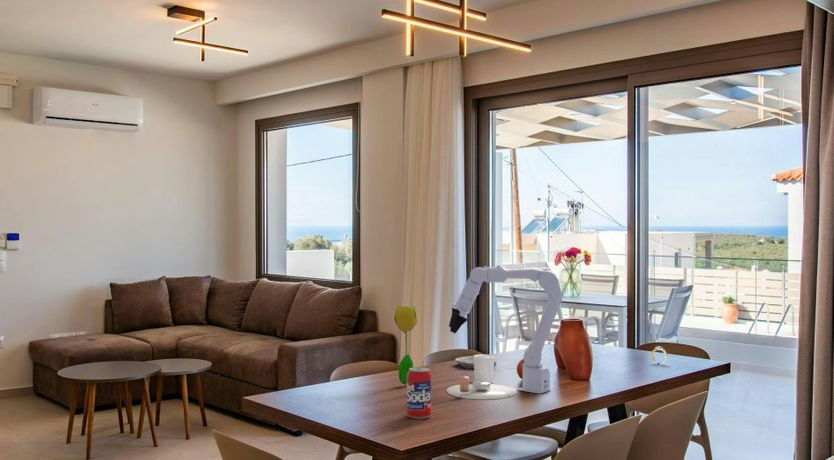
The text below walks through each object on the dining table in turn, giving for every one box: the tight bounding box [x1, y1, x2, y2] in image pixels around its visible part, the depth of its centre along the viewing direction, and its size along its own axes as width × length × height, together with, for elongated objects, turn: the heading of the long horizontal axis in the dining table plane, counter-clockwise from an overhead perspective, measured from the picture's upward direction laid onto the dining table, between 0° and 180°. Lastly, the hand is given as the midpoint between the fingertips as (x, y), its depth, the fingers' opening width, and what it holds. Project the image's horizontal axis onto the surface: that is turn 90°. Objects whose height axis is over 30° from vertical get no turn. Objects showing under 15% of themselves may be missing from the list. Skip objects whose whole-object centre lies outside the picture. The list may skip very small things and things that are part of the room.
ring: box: [650, 345, 669, 364], centre depth 333 cm, size 7×3×8 cm, turn 43°
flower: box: [393, 305, 418, 387], centre depth 284 cm, size 9×8×30 cm
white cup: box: [473, 353, 495, 384], centre depth 292 cm, size 8×8×10 cm
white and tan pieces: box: [459, 375, 491, 393], centre depth 271 cm, size 15×6×6 cm, turn 138°
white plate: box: [446, 383, 517, 401], centre depth 274 cm, size 25×25×1 cm
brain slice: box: [454, 355, 497, 370], centre depth 326 cm, size 20×17×3 cm
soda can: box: [406, 366, 433, 420], centre depth 237 cm, size 8×8×15 cm
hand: (451, 329), depth 283 cm, fingers open, 7 cm apart
